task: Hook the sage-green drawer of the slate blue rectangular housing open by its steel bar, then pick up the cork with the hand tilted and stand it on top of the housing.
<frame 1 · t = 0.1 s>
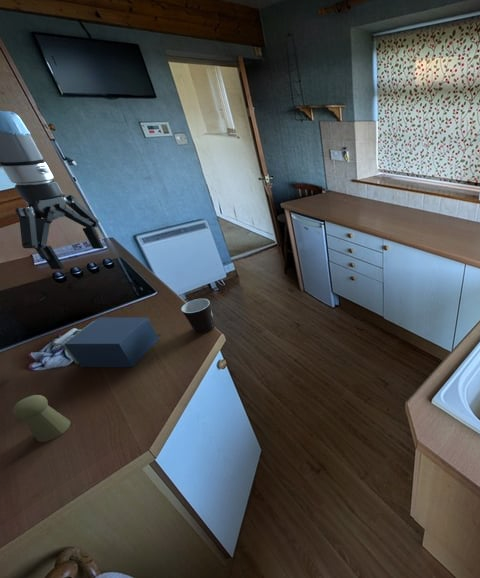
hand: (79, 257, 85), 31 cm above the worktop, tool pointing down, fingers open, 13 cm apart
drawer: (99, 341, 92), point 5 cm above the worktop, slide at 0.5 cm
cork: (54, 430, 72), on the worktop
coffee mug: (206, 325, 107), on the worktop
slate blue rectangular housing: (122, 352, 95), on the worktop
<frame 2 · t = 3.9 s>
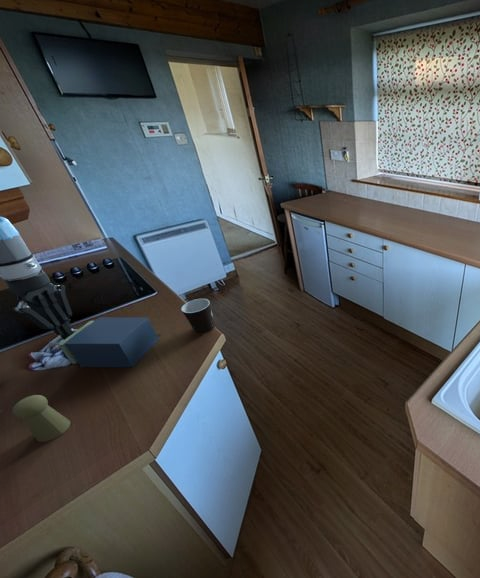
hand: (71, 340, 92), 5 cm above the worktop, tool pointing down, fingers closed
drawer: (95, 341, 92), point 5 cm above the worktop, slide at 1.6 cm
everything else where it was.
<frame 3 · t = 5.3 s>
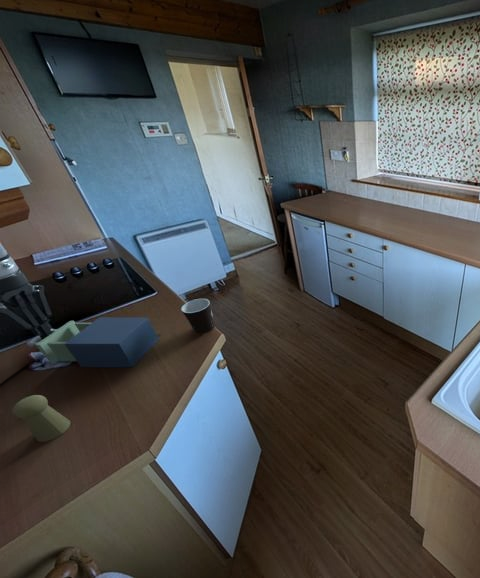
hand: (50, 340, 92), 5 cm above the worktop, tool pointing down, fingers closed
drawer: (75, 341, 92), point 5 cm above the worktop, slide at 8.0 cm
everything else where it was.
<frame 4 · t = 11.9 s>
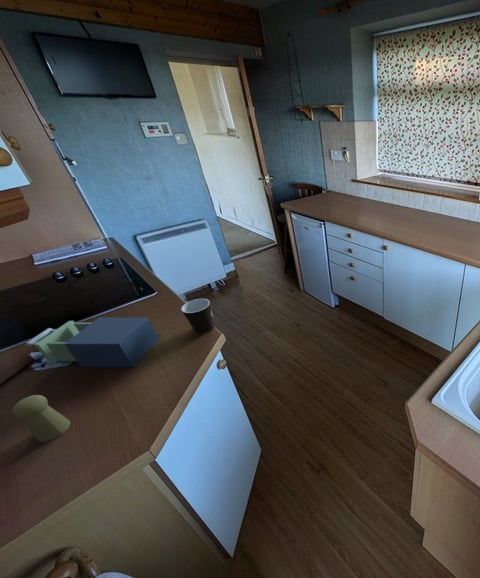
nothing on the worktop moved.
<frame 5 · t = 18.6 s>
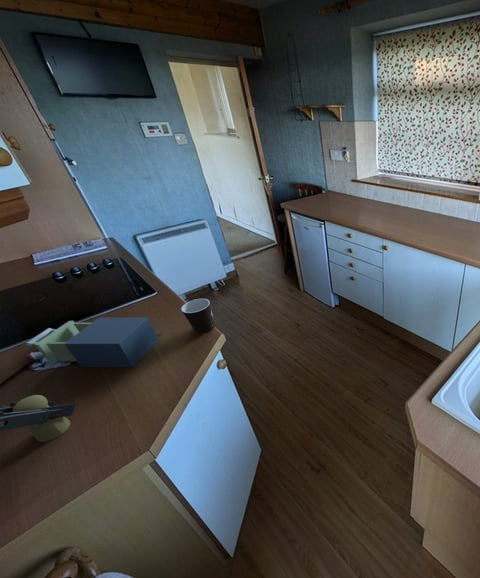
hand: (61, 408, 73), 3 cm above the worktop, tool tilted 45°, fingers closed on cork, 5 cm apart
cork: (54, 430, 72), on the worktop, touching gripper
everything else where it was.
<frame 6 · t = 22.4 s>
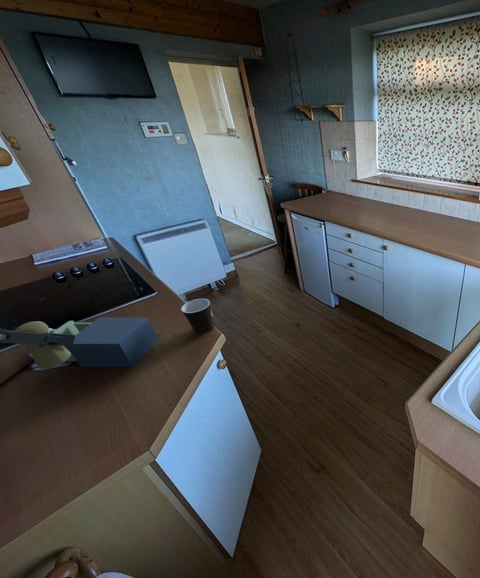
hand: (62, 339, 75), 18 cm above the worktop, tool tilted 45°, fingers closed on cork, 5 cm apart
cork: (55, 360, 73), point 14 cm above the worktop, touching gripper
everything else where it was.
when the fingers open (13 cm above the worktop, at t = 26.3 s): cork stays where it is, resting on slate blue rectangular housing.
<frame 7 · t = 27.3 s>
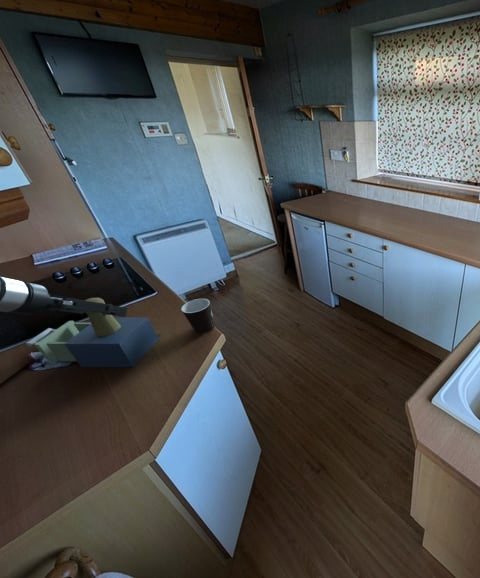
hand: (104, 310, 89), 15 cm above the worktop, tool tilted 45°, fingers open, 13 cm apart
cork: (108, 330, 90), point 9 cm above the worktop, touching slate blue rectangular housing
everything else where it was.
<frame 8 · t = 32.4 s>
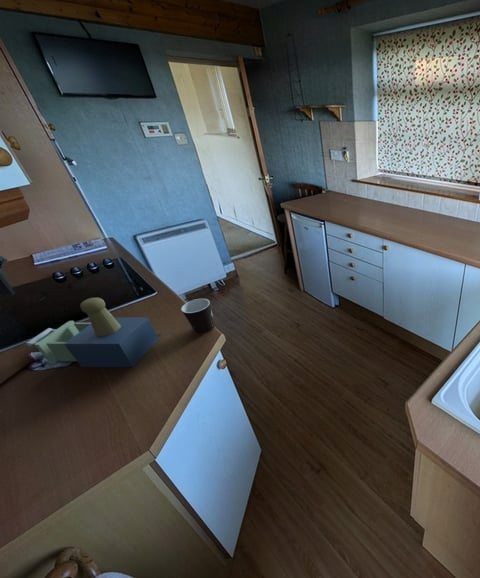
nothing on the worktop moved.
at the end: drawer slide at 8.3 cm; cork inside the target area on the slate blue rectangular housing (0.1 cm from its centre), point 9.4 cm above the slate blue rectangular housing's base; cork tilted 0° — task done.
